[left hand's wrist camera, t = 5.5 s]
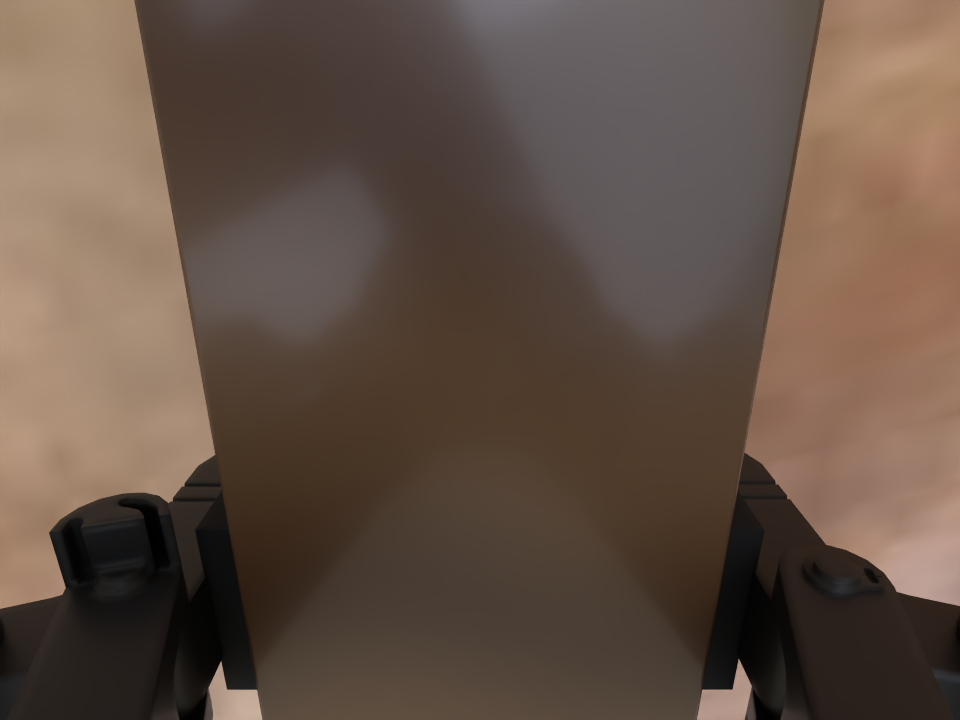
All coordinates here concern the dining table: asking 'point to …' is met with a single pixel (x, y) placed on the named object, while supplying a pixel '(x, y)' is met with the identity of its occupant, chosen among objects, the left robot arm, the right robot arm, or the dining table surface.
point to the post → (479, 332)
